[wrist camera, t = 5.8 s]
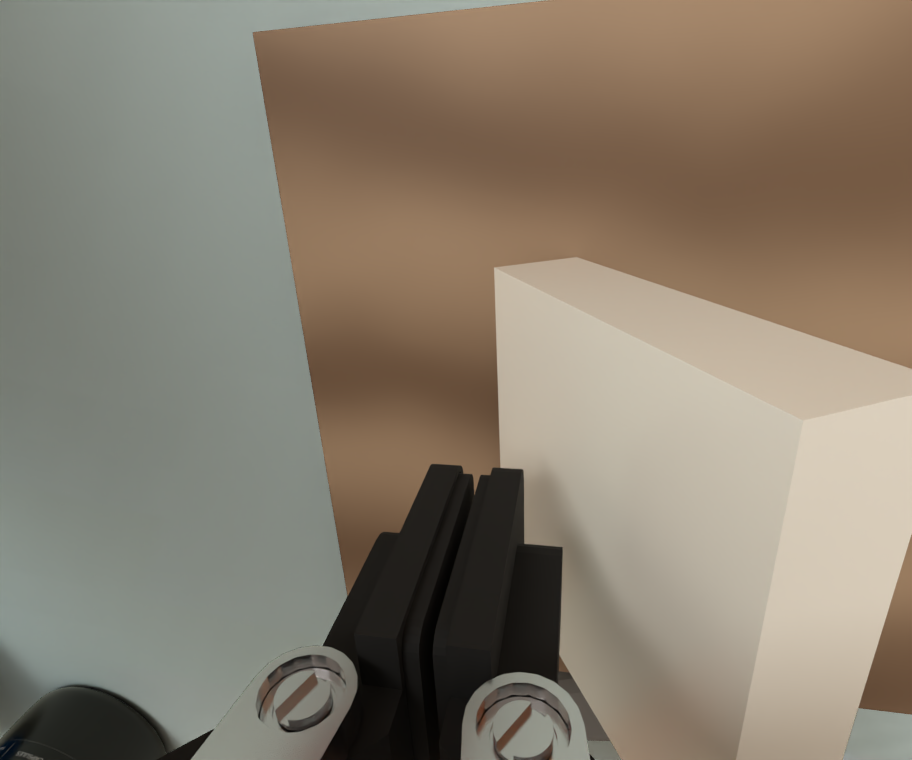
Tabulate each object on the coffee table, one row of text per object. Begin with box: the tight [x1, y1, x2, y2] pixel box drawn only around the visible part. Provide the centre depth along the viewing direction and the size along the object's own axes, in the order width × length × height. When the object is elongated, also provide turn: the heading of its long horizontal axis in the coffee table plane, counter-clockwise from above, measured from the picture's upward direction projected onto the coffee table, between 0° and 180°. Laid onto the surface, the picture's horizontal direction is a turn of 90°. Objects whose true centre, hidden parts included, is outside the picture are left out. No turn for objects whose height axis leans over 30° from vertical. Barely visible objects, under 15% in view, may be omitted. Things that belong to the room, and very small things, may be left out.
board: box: [253, 0, 912, 714], centre depth 15 cm, size 18×18×1 cm
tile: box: [494, 257, 912, 760], centre depth 11 cm, size 8×2×8 cm, turn 4°
